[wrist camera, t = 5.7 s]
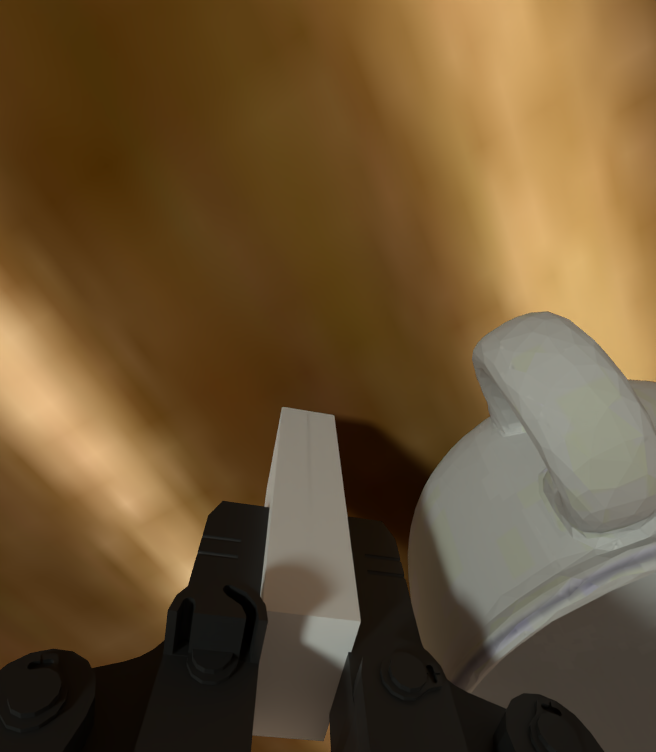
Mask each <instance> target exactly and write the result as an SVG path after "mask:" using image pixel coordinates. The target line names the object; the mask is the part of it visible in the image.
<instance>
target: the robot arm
mask: <svg viewBox="0 0 656 752" xmlns="http://www.w3.org/2000/svg"><path fill="white" fill-rule="evenodd" d="M329 722H330V740H331V752H604V750H603V749H602V748H601V746H600V745H599V743H598V742H597V741H596V739H595V738H594V736H593V735H592V734H591V732H590V731H589V730H588V729H587V728H586V727H585V726H584V724H583V723H582V722H581V721H580V720H579V719H578V718H577V717H576V715H575V714H573V713H572V712H571V711H569V710H568V709H567V708H565V707H564V706H562V705H561V704H560V703H558V702H557V701H555V700H552V699H550V698H548V697H545V696H543V695H540V694H530V693H523V694H521V695H519V696H517V697H515V698H513V699H511V701H510V703H509V705H508V707H507V709H506V708H503V707H501V706H499V705H496V704H494V703H492V702H489V701H487V700H485V699H482V698H480V697H478V696H475V695H473V694H471V693H468V692H466V691H465V690H463V689H461V688H459V687H457V686H455V685H454V684H453V683H451V682H450V681H449V680H448V679H447V678H446V676H445V674H444V672H443V669H442V667H441V665H440V664H439V663H438V662H437V661H436V660H435V659H434V657H433V656H432V655H431V654H430V653H429V652H428V651H427V650H425V649H424V648H423V645H422V642H421V639H420V635H419V631H418V627H417V623H416V619H415V615H414V611H413V607H412V603H411V599H410V596H409V592H408V588H407V584H406V580H405V579H404V572H403V568H402V564H401V562H400V556H399V552H398V548H397V545H396V541H395V538H394V537H393V536H392V534H391V533H390V532H389V530H388V529H387V528H386V526H385V525H384V524H383V522H382V521H376V520H369V519H361V518H354V517H347V510H346V503H345V495H344V487H343V479H342V472H341V464H340V456H339V448H338V441H337V433H336V425H335V417H334V415H329V414H323V413H317V412H311V411H305V410H299V409H293V408H287V407H282V411H281V416H280V421H279V427H278V432H277V437H276V443H275V448H274V453H273V459H272V464H271V469H270V475H269V480H268V486H267V491H266V499H265V507H263V506H256V505H248V504H241V503H234V502H227V501H222V502H221V503H220V504H219V505H218V506H217V507H216V508H215V509H214V510H213V511H212V512H211V513H210V514H209V515H208V518H207V522H206V525H205V529H204V532H203V537H202V539H201V543H200V546H199V550H198V554H197V557H196V560H195V563H194V567H193V570H192V574H191V577H190V581H189V584H188V586H187V587H186V588H185V589H184V590H182V591H181V592H180V593H179V594H177V595H176V597H175V599H174V600H173V602H172V604H171V606H170V607H169V609H168V614H167V623H166V633H165V640H164V641H163V642H162V643H161V644H160V645H158V646H157V647H156V648H155V649H153V650H151V651H150V652H148V653H146V654H144V655H142V656H140V657H137V658H134V659H131V660H128V661H124V662H120V663H115V664H110V665H105V666H100V667H96V668H91V666H90V664H89V662H88V661H87V660H86V659H84V658H83V657H81V656H79V655H78V654H76V653H75V652H73V651H66V650H58V649H50V650H44V651H39V652H34V653H30V654H28V655H25V656H23V657H21V658H19V659H17V660H15V661H13V662H11V663H9V664H7V665H6V666H5V667H3V668H2V669H1V670H0V752H251V743H252V735H256V736H268V737H279V738H291V739H304V740H316V741H324V738H325V735H326V732H327V729H328V725H329Z"/></svg>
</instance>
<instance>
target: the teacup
mask: <svg viewBox="0 0 656 752" xmlns="http://www.w3.org/2000/svg"><path fill="white" fill-rule="evenodd" d="M472 360H473V364H474V368H475V372H476V376H477V379H478V381H479V383H480V386H481V389H482V392H483V394H484V396H485V398H486V401H487V403H488V410H489V413H490V417H489V418H487V419H485V420H484V421H483V422H482V423H480V424H479V425H478V426H477V427H475V428H474V429H473V430H471V431H470V432H469V433H468V434H466V435H465V436H464V437H463V438H462V439H461V440H460V441H459V442H458V443H456V444H455V445H454V446H453V447H452V448H451V450H450V451H449V452H448V453H447V454H446V456H445V457H444V458H443V459H442V461H441V462H440V463H439V464H438V465H437V467H436V468H435V470H434V471H433V473H432V474H431V476H430V478H429V479H428V481H427V483H426V484H425V486H424V488H423V491H422V493H421V495H420V498H419V500H418V503H417V505H416V508H415V512H414V516H413V520H412V524H411V529H410V536H409V547H408V576H409V585H410V595H411V603H412V607H413V611H414V615H415V619H416V623H417V627H418V631H419V635H420V639H421V642H422V645H423V648H424V649H425V650H427V651H428V652H429V653H430V654H431V655H432V656H433V657H434V659H435V660H436V661H437V662H438V663H439V664H440V665H441V667H442V669H443V672H444V674H445V676H446V678H447V679H448V680H449V681H450V682H451V683H453V684H454V685H455V686H457V687H459V688H461V689H463V690H465V691H466V692H468V693H471V694H473V695H475V696H478V697H480V698H482V699H485V700H487V701H489V702H492V703H494V704H496V705H499V706H501V707H503V708H506V709H507V707H508V705H509V703H510V701H511V699H513V698H515V697H517V696H519V695H521V694H523V693H530V694H540V695H543V696H545V697H548V698H550V699H552V700H555V701H557V702H558V703H560V704H561V705H562V706H564V707H565V708H567V709H568V710H569V711H571V712H572V713H573V714H575V715H576V717H577V718H578V719H579V720H580V721H581V722H582V723H583V724H584V726H585V727H586V728H587V729H588V730H589V731H590V732H591V734H592V735H593V736H594V738H595V739H596V741H597V742H598V743H599V745H600V746H601V748H602V749H603V750H604V752H656V382H651V381H641V380H627V378H626V377H625V376H624V374H623V373H622V372H621V371H620V370H619V368H618V367H617V366H616V365H615V363H614V362H613V361H612V360H611V358H610V357H609V356H608V355H607V354H606V353H605V351H604V350H603V349H602V348H601V347H600V346H599V345H598V344H597V343H596V342H595V340H593V339H592V338H591V337H590V336H588V335H587V334H586V333H585V332H584V331H582V330H581V329H580V328H579V327H577V326H576V325H575V324H574V323H573V322H571V321H570V320H569V319H567V318H564V317H561V316H559V315H556V314H553V313H551V312H534V313H528V314H525V315H522V316H519V317H516V318H514V319H512V320H509V321H507V322H505V323H504V324H502V325H501V326H499V327H497V328H496V329H494V330H493V331H491V332H490V333H488V334H487V335H485V336H484V337H483V338H482V339H481V340H480V341H479V342H478V343H477V345H476V347H475V348H474V350H473V357H472Z"/></svg>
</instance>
